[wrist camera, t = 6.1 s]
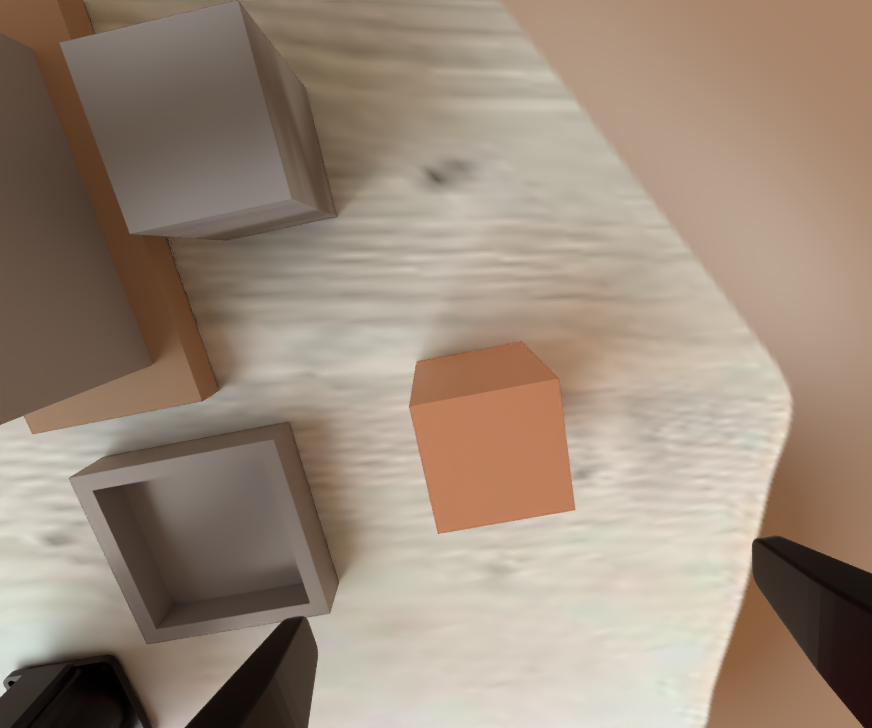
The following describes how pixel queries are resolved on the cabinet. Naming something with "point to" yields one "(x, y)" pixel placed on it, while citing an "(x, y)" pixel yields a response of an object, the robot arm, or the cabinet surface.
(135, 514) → the tray
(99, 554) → the cabinet surface
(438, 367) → the terracotta block
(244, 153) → the grey block
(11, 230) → the mounted unit
